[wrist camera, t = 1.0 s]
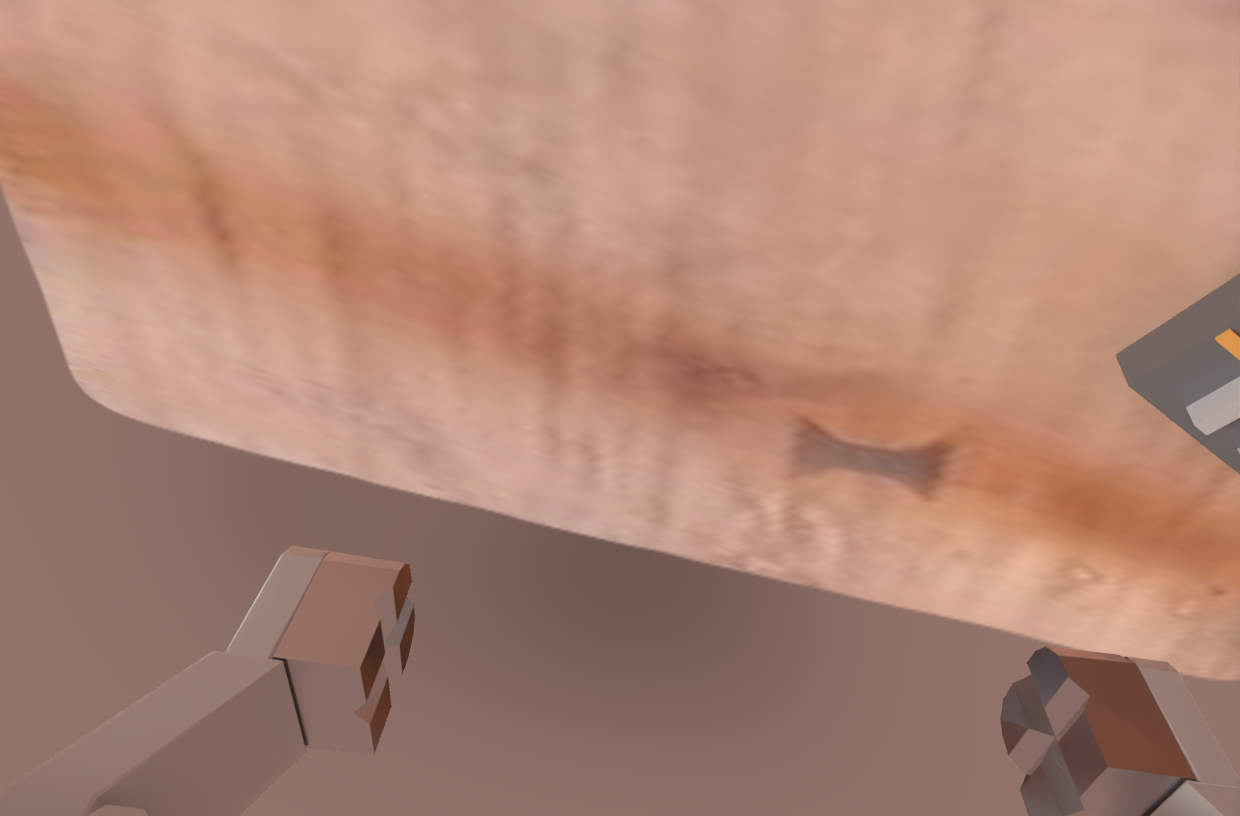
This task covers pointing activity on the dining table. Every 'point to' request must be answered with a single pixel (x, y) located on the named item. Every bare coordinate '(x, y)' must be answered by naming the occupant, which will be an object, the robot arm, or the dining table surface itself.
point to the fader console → (1195, 370)
